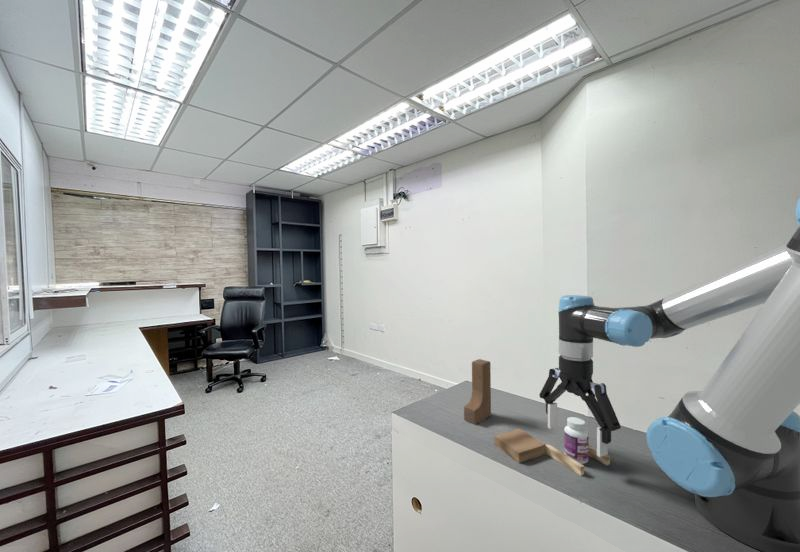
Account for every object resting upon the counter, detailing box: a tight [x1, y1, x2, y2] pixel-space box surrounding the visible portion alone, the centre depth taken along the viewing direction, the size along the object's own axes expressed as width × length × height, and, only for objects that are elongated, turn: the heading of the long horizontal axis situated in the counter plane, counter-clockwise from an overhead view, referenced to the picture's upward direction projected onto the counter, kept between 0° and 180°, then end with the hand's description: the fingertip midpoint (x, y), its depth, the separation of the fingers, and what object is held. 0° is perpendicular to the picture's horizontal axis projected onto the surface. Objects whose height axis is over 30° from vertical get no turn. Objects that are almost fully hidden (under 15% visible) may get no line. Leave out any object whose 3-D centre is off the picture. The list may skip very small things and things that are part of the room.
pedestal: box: [493, 428, 547, 464], centre depth 82 cm, size 9×9×2 cm
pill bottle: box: [563, 416, 590, 465], centre depth 77 cm, size 5×5×10 cm
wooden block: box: [463, 358, 492, 425], centre depth 99 cm, size 9×4×18 cm, turn 131°
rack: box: [545, 443, 611, 476], centre depth 77 cm, size 10×10×2 cm
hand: (575, 440), depth 78 cm, fingers open, 13 cm apart
